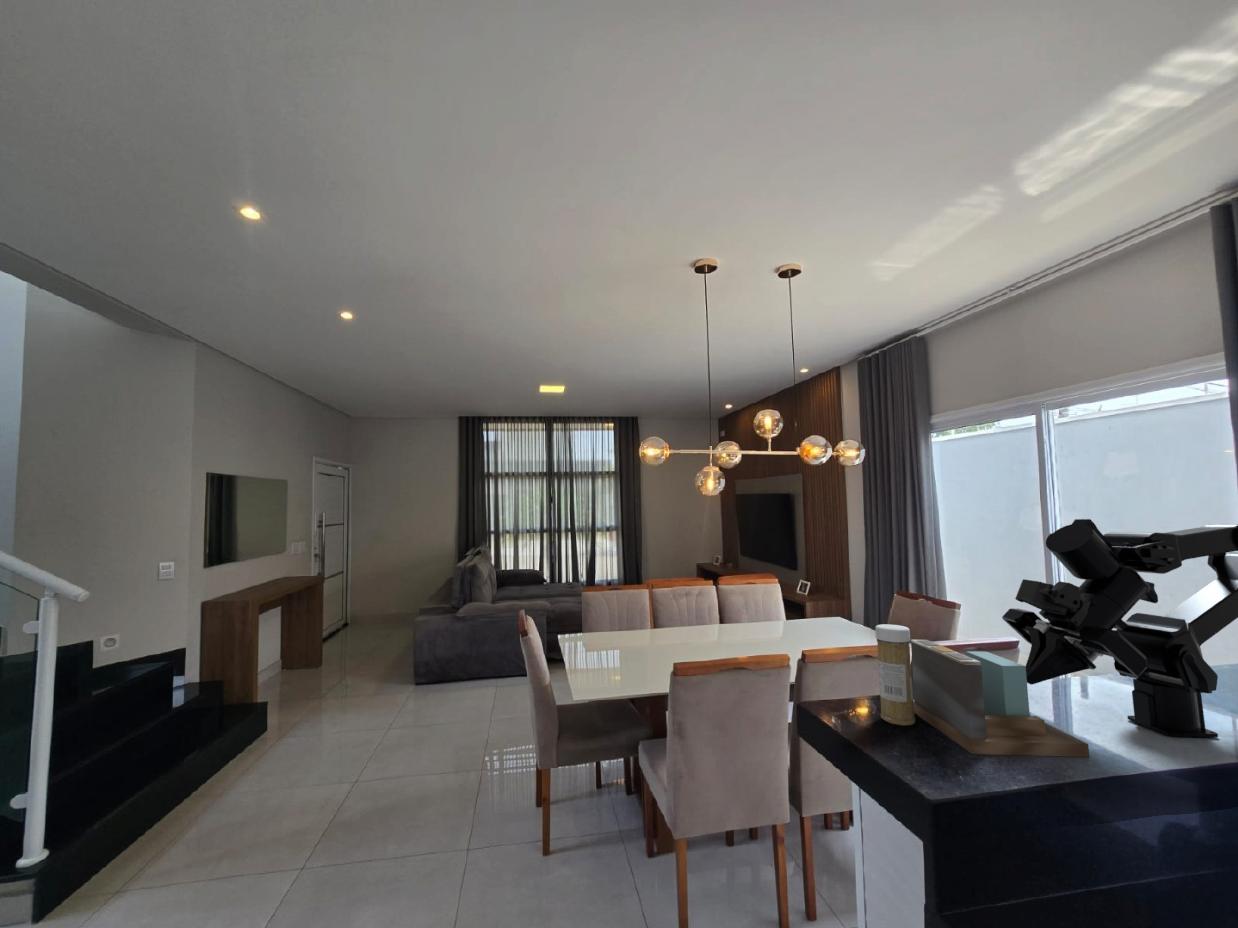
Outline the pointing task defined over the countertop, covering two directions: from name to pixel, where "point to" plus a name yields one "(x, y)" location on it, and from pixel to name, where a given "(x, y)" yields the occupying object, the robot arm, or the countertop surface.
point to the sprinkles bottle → (895, 674)
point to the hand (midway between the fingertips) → (1026, 681)
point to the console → (977, 709)
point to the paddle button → (1002, 685)
